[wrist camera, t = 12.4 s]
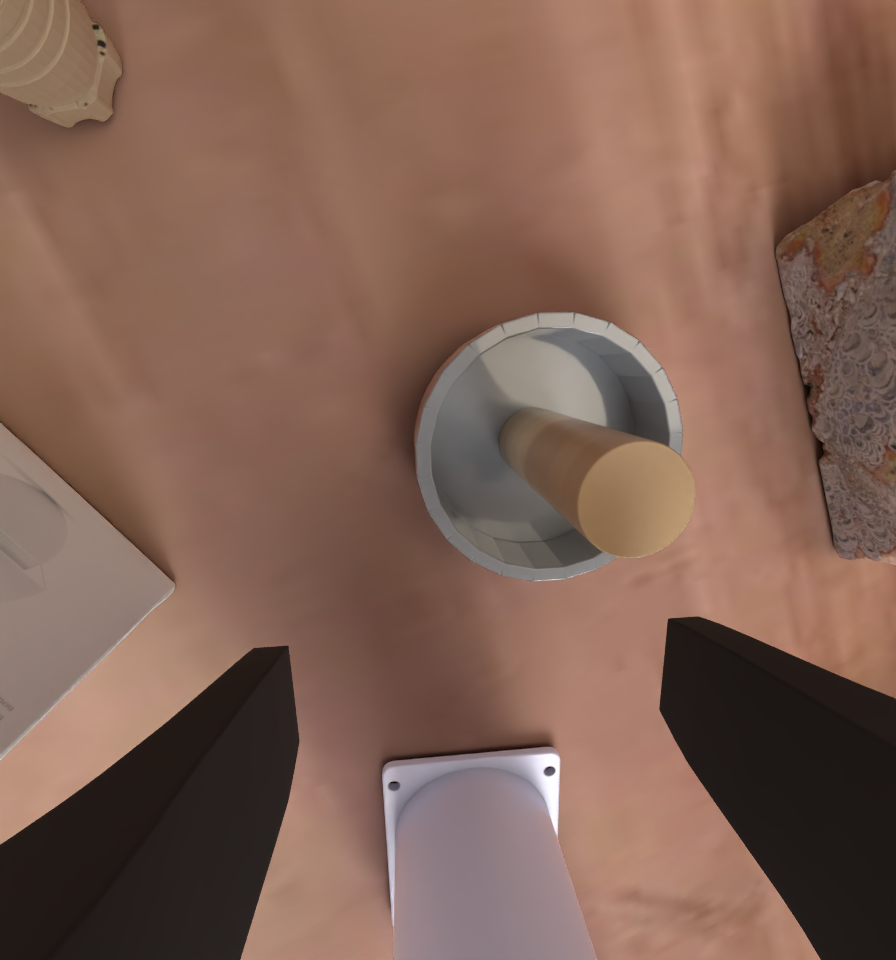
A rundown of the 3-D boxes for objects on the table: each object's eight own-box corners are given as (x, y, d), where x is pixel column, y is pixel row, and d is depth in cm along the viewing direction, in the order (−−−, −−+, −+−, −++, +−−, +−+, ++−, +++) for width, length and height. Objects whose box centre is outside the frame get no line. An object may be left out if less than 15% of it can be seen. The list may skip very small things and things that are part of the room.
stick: (578, 434, 18) (720, 487, 10) (537, 487, 19) (642, 580, 11) (527, 393, 18) (632, 414, 10) (485, 449, 18) (552, 515, 10)
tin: (632, 543, 20) (671, 573, 17) (418, 556, 19) (421, 589, 16) (648, 319, 18) (695, 309, 15) (409, 323, 17) (410, 313, 14)
